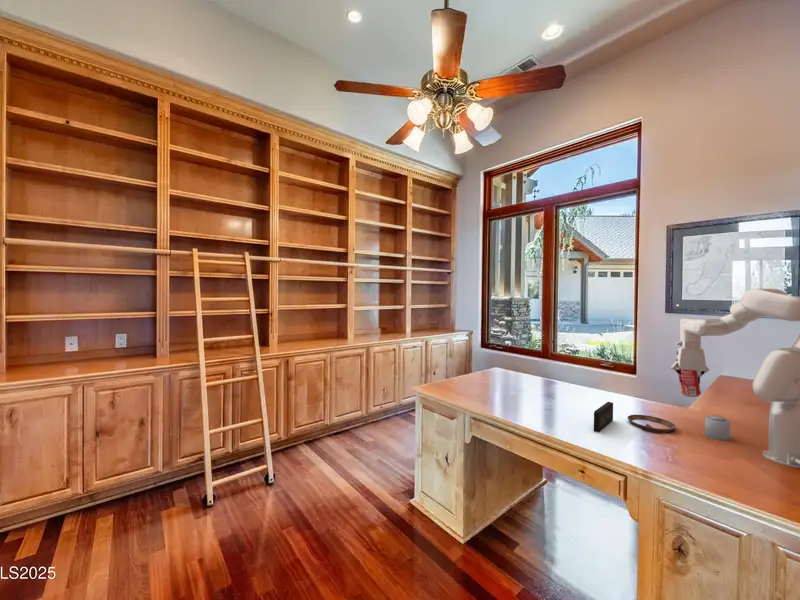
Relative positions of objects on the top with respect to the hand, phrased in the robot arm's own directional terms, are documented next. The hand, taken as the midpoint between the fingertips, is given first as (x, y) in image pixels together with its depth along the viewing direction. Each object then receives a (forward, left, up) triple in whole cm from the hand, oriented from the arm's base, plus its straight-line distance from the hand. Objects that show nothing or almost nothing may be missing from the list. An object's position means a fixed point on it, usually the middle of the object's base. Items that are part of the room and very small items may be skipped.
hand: (689, 384), depth 160 cm
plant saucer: (-8, +18, -20) cm, 28 cm away
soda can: (+1, -1, -6) cm, 6 cm away
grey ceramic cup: (-14, -4, -19) cm, 24 cm away
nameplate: (-16, +39, -19) cm, 46 cm away
